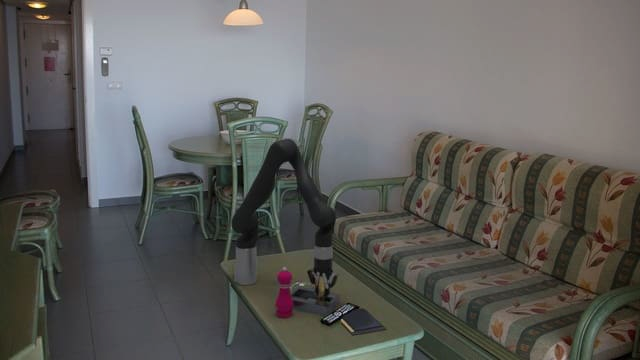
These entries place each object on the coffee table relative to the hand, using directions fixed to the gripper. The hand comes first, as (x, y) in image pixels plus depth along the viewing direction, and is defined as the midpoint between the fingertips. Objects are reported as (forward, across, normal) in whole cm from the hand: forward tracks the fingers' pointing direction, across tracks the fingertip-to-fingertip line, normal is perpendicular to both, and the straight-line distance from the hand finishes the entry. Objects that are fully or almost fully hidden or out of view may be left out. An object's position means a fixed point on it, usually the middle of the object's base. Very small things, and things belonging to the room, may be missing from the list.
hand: (322, 294), depth 232 cm
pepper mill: (+5, -11, -13) cm, 18 cm away
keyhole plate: (+5, -4, 0) cm, 7 cm away
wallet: (+6, +18, -6) cm, 20 cm away
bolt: (+5, 0, 0) cm, 5 cm away
